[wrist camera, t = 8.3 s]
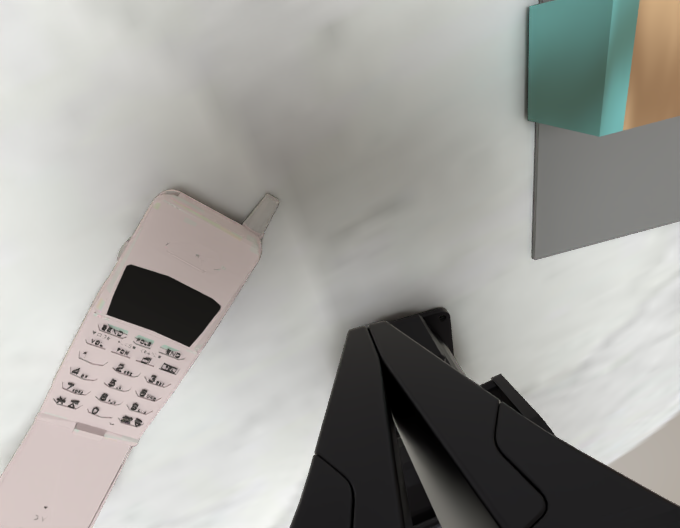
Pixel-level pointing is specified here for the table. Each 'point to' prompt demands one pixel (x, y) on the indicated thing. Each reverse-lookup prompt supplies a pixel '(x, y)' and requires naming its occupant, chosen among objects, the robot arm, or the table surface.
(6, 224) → the table surface
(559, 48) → the oak block
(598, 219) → the charcoal mat
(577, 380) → the table surface
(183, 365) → the mobile phone
